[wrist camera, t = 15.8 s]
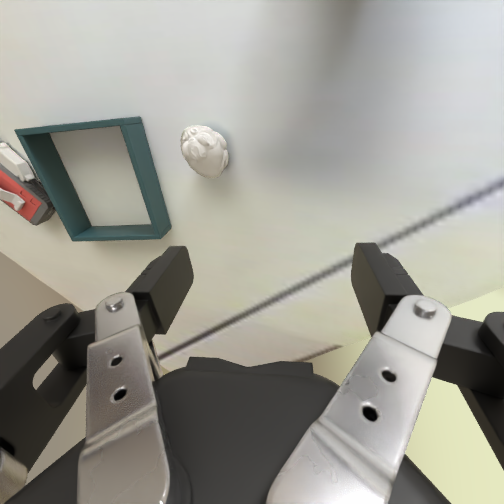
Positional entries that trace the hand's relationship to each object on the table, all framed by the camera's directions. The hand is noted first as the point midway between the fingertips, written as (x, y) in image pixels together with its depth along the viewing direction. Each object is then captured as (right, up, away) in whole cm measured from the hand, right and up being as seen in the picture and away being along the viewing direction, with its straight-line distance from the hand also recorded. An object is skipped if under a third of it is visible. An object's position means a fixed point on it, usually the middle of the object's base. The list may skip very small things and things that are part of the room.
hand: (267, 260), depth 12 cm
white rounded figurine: (-7, +16, +25) cm, 30 cm away
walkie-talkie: (-42, +15, +30) cm, 54 cm away
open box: (-24, +12, +29) cm, 40 cm away
